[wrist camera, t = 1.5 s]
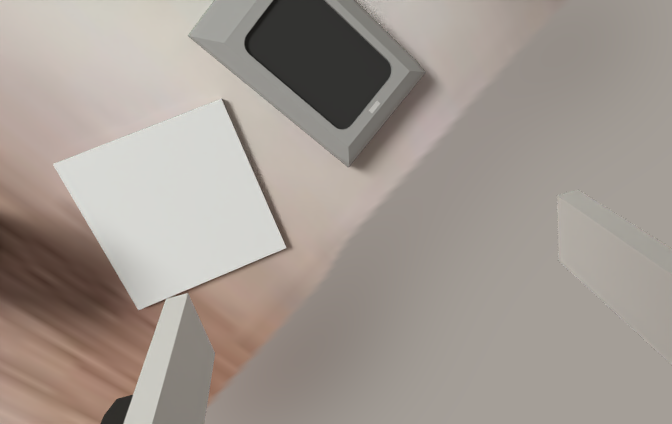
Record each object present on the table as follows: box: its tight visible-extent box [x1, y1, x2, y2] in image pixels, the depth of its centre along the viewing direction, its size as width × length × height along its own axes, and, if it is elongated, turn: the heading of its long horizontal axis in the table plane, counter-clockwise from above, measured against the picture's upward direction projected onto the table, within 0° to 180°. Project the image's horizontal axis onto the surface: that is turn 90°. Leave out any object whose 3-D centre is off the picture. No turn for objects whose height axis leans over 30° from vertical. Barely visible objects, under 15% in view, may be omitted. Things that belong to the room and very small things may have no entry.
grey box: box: [188, 0, 426, 167], centre depth 35 cm, size 10×4×15 cm
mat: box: [53, 99, 286, 310], centre depth 37 cm, size 13×13×1 cm
